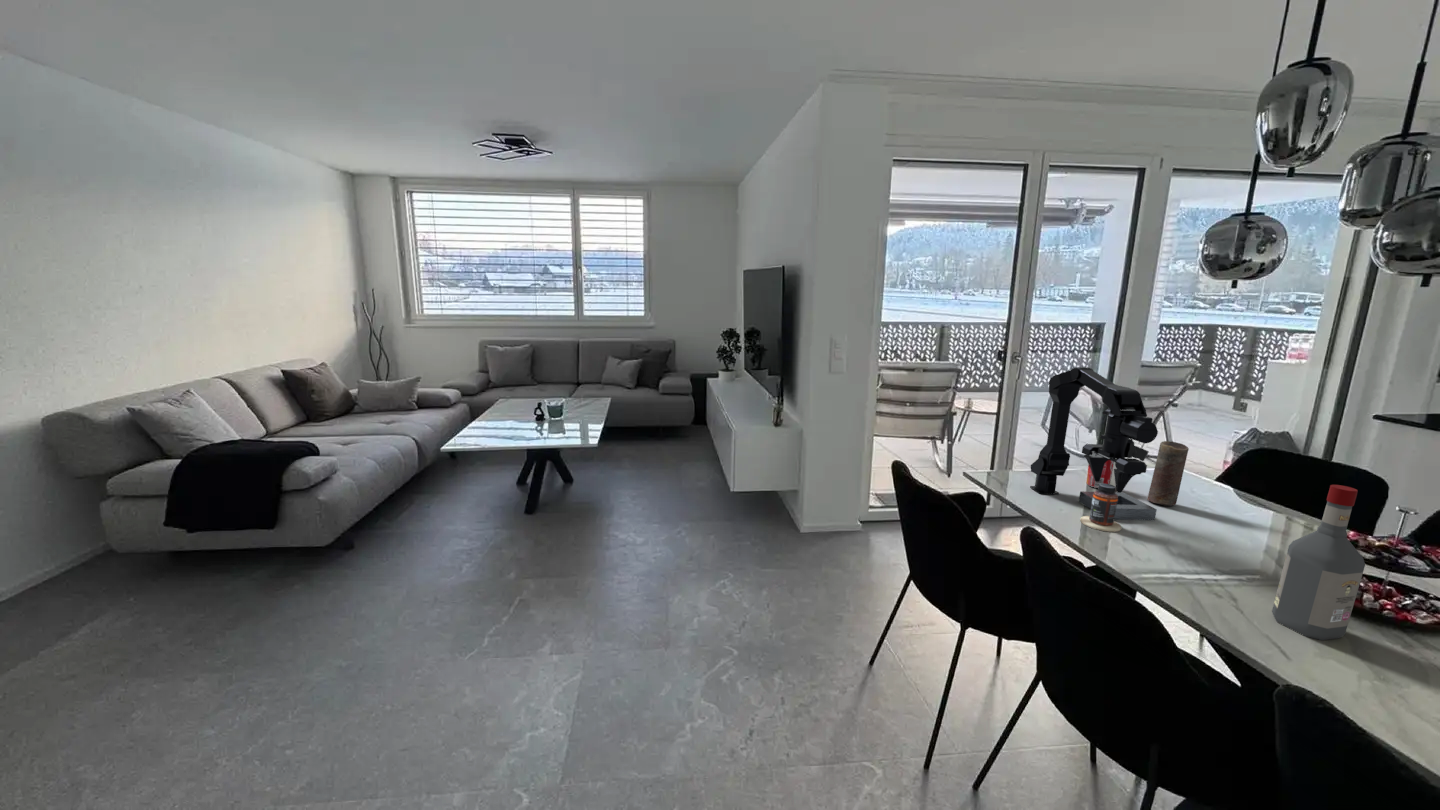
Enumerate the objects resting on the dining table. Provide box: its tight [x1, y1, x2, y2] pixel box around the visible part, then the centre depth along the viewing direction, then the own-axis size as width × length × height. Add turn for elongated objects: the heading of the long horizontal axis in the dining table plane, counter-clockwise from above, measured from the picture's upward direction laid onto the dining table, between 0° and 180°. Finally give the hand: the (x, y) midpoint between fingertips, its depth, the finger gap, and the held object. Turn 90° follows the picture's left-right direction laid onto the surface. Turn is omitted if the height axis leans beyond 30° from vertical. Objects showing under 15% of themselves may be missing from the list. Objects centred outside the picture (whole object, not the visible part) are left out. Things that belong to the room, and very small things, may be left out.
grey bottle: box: [1271, 484, 1366, 641], centre depth 114 cm, size 9×9×30 cm
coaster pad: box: [1079, 515, 1123, 533], centre depth 165 cm, size 10×10×1 cm
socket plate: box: [1078, 491, 1157, 521], centre depth 176 cm, size 14×14×4 cm
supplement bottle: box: [1089, 483, 1118, 526], centre depth 164 cm, size 6×6×11 cm
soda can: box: [1085, 460, 1115, 490], centre depth 197 cm, size 7×7×12 cm
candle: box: [1146, 440, 1190, 507], centre depth 181 cm, size 8×7×20 cm
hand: (1107, 486), depth 163 cm, fingers open, 9 cm apart
